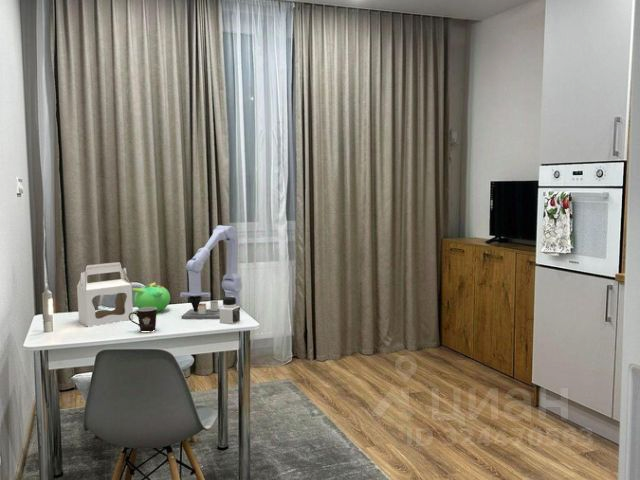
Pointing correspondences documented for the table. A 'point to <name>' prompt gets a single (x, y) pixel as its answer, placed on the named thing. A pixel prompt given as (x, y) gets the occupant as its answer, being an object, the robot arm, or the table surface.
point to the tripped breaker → (202, 308)
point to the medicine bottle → (229, 311)
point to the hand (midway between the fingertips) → (195, 311)
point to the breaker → (214, 305)
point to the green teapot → (152, 297)
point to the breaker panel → (196, 315)
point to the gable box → (104, 288)
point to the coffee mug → (146, 318)
